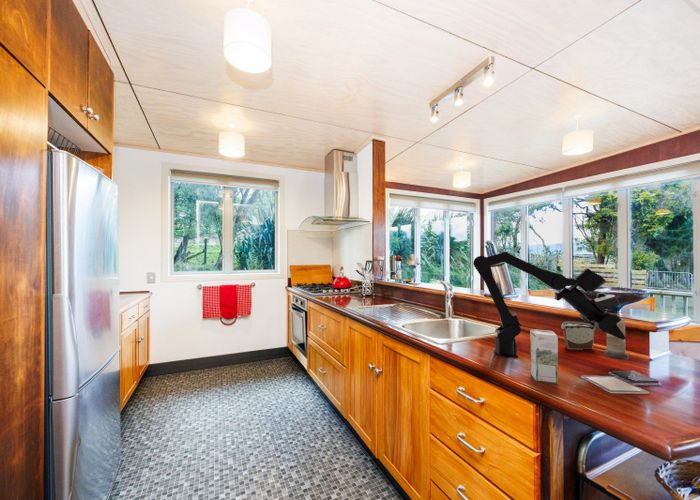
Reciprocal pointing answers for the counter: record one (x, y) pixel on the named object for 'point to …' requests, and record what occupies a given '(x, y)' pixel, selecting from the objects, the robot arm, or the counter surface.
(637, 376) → the ink pad
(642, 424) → the counter surface
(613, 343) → the stamp
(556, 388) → the counter surface
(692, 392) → the counter surface
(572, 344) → the food container
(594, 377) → the marked board
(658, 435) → the counter surface
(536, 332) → the syrup box
